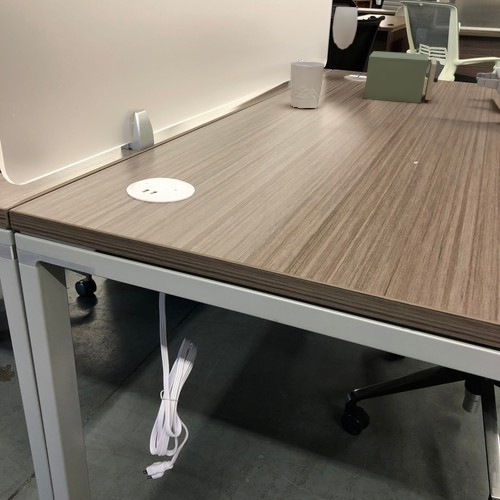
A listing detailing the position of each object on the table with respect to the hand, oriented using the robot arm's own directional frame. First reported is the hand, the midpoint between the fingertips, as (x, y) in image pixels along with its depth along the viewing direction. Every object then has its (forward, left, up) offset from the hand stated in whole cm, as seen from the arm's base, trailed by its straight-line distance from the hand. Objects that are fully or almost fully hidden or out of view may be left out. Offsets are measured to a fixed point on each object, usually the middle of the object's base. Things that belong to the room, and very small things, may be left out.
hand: (477, 79), depth 130 cm
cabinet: (+20, -1, -6) cm, 21 cm away
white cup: (+40, +22, -6) cm, 46 cm away
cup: (+38, -23, -6) cm, 45 cm away
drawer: (+17, -1, -5) cm, 18 cm away
